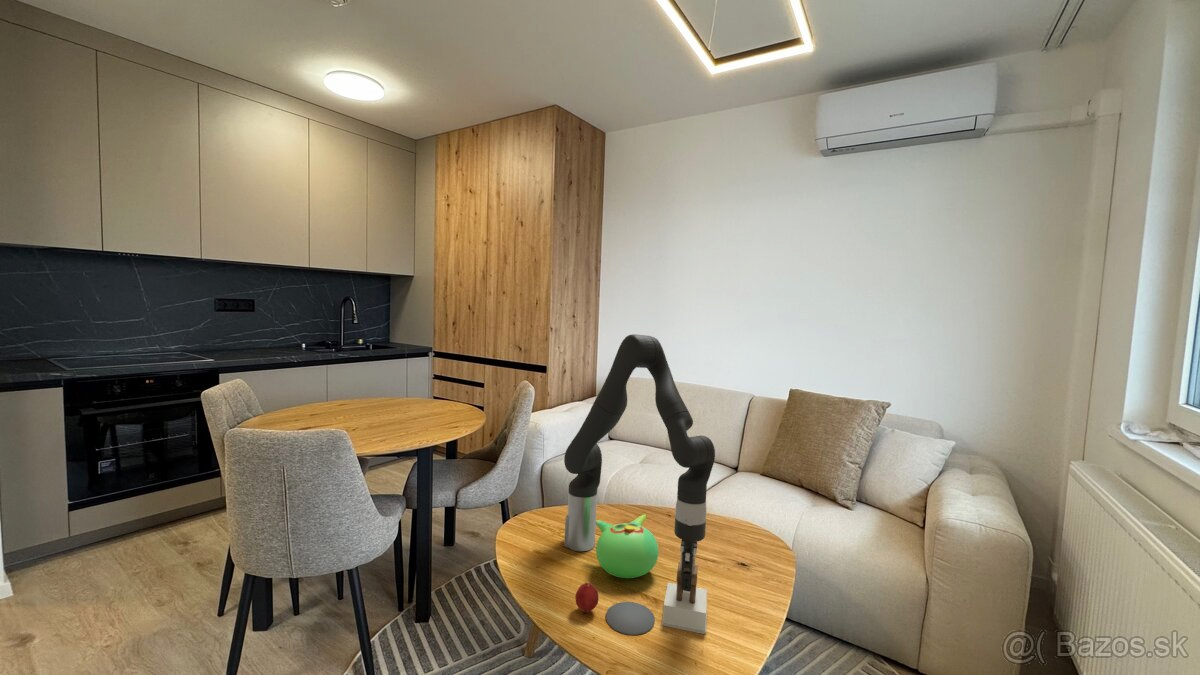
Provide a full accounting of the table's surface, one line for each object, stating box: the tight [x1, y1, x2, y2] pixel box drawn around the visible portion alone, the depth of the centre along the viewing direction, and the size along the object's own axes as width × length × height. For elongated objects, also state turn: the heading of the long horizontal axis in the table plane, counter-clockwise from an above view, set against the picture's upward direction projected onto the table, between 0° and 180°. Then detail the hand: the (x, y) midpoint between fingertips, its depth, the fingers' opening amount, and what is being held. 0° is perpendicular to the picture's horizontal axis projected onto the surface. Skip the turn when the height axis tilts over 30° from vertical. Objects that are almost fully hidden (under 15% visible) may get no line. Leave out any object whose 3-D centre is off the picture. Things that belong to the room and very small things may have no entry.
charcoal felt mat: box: [605, 601, 656, 636], centre depth 114 cm, size 12×12×1 cm
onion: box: [574, 581, 600, 614], centre depth 116 cm, size 6×6×8 cm
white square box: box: [661, 581, 708, 635], centre depth 116 cm, size 10×10×5 cm
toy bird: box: [595, 513, 660, 579], centre depth 134 cm, size 18×17×15 cm
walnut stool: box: [676, 562, 699, 604], centre depth 116 cm, size 5×5×7 cm
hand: (687, 581), depth 115 cm, fingers open, 7 cm apart
